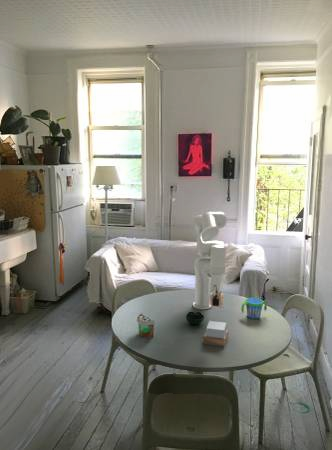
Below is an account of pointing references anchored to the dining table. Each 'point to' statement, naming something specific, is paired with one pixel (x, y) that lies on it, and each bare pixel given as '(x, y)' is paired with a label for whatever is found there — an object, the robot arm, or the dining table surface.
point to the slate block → (216, 329)
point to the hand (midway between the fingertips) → (216, 303)
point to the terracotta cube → (219, 299)
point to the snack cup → (254, 307)
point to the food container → (145, 326)
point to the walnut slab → (215, 340)
